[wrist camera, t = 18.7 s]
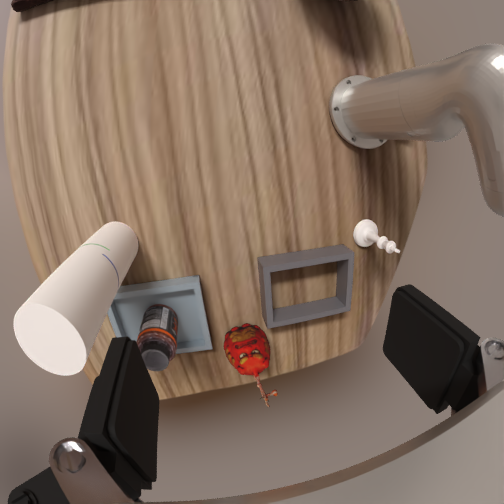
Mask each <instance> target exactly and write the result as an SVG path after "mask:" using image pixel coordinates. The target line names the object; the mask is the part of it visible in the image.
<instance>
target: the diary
mask: <svg viewBox="0 0 504 504" xmlns="http://www.w3.org/2000/svg"><path fill="white" fill-rule="evenodd" d="M49 1H53V0H13V1H12V3H11V6H12V8H13V10H15V11H16V12H21V11H24V10H26V9H29V8H32V7H34V6H37V5H40V4H43V3H46V2H49Z"/></svg>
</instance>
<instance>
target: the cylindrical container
mask: <svg viewBox="0 0 504 504" xmlns="http://www.w3.org/2000/svg"><path fill="white" fill-rule="evenodd" d="M138 246H139V245H138V239H137V236H136V234H135V232H134V231H133V230H132V229H131V228H130V227H129V226H128V225H126V224H124V223H122V222H110V223H107V224H105V225H104V226H103V227H102V228H100V229H99V230H98V231H97V232H96V233H95V234H94V235H92V236H91V237H90V238H89V239H88V240H87V241H86V242H85V243H83V244H82V245H81V246H80V247H79V248H78V249H77V250H76V251H75V252H74V253H73V254H72V255H71V256H70V257H68V258H67V259H66V260H65V261H64V262H63V263H62V264H61V265H60V266H59V267H58V268H57V269H56V270H55V271H54V272H53V273H52V274H51V275H50V276H49V277H48V278H47V279H46V280H45V281H44V282H43V283H42V284H41V285H40V287H39V288H38V289H37V290H36V291H35V292H34V293H33V294H32V295H31V297H29V298H28V299H27V301H26V302H25V303H24V304H23V305H22V306H21V307H20V308H19V310H18V311H17V312H16V315H15V317H14V331H15V335H16V338H17V340H18V343H19V344H20V346H21V348H22V349H23V351H24V352H25V353H26V355H27V356H28V357H29V358H30V359H31V360H32V361H33V362H34V363H36V364H37V365H38V366H40V367H41V368H43V369H45V370H47V371H49V372H51V373H54V374H58V375H65V376H66V375H73V374H76V373H78V372H79V371H81V370H82V368H83V367H84V365H85V363H86V360H87V358H88V356H89V353H90V351H91V348H92V346H93V344H94V341H95V339H96V337H97V334H98V332H99V330H100V328H101V325H102V323H103V321H104V319H105V317H106V314H107V312H108V310H109V308H110V306H111V304H112V302H113V300H114V298H115V295H116V293H117V291H118V289H119V287H120V285H121V283H122V281H123V279H124V278H125V276H126V274H127V272H128V270H129V268H130V266H131V264H132V262H133V260H134V258H135V257H136V255H137V252H138Z"/></svg>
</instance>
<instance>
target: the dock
mask: <svg viewBox="0 0 504 504" xmlns="http://www.w3.org/2000/svg"><path fill="white" fill-rule="evenodd" d="M257 258H258V269H259V281H260V293H261V305H262V316H263V319H264V321H265V323H266V326H267V328H268V329H269V328H274V327H279V326H284V325H289V324H294V323H299V322H303V321H308V320H312V319H317V318H321V317H326V316H330V315H334V314H338V313H342V312H346V311H350V307H351V296H352V283H353V267H354V252H353V251H352V250H350V249H349V248H347V247H346V246H345V245H343V244H342V245H336V246H329V247H323V248H316V249H310V250H303V251H297V252H290V253H284V254H277V255H270V256H264V257H257ZM334 261H338V262H337V287H336V297H331V298H327V299H322V300H317V301H312V302H307V303H302V304H297V305H292V306H287V307H282V308H276V309H272V293H271V278H270V272H275V271H281V270H287V269H293V268H299V267H305V266H311V265H317V264H323V263H329V262H334Z"/></svg>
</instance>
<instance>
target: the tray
mask: <svg viewBox="0 0 504 504" xmlns="http://www.w3.org/2000/svg"><path fill="white" fill-rule="evenodd" d="M155 304H163V305H166V306H169V307H170V308H172V309H173V310H174V311H175V313H176V315H177V318H178V332H177V349H176V354H179V353H187V352H195V351H203V350H210V349H212V340H211V336H210V331H209V326H208V321H207V316H206V311H205V306H204V300H203V295H202V289H201V284H200V278H199V275H196V276H189V277H182V278H175V279H168V280H161V281H154V282H147V283H140V284H133V285H125V286H120V287H119V289H118V291H117V293H116V295H115V298H114V300H113V302H112V304H111V306H110V308H109V310H108V312H107V313H108V316H109V319H110V322H111V324H112V327H113V330H114V332H115V335H116V337H127V336H128V337H130V339H131V340H135V341H136V342H137V338H138V334H139V330H140V326H141V322H142V319H143V315H144V313H145V311H146V310H147V308H149V307H150V306H152V305H155Z"/></svg>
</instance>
